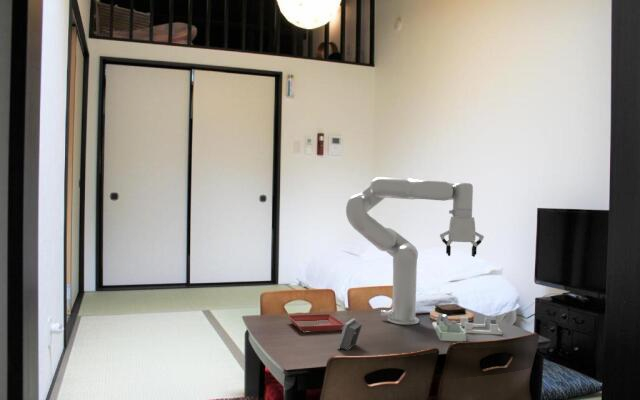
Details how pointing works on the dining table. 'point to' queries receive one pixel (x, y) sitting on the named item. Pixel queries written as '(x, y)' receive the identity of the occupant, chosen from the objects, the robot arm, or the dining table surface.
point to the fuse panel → (469, 326)
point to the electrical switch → (349, 334)
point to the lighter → (450, 324)
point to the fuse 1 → (439, 318)
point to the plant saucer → (334, 321)
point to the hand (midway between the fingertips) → (461, 256)
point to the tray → (450, 334)
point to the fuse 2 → (490, 321)
